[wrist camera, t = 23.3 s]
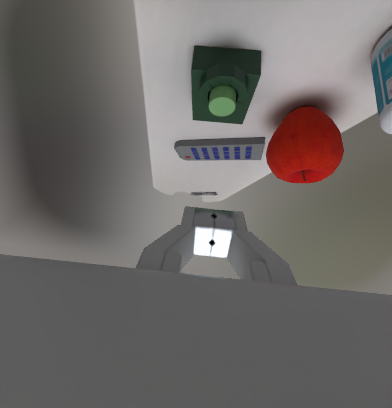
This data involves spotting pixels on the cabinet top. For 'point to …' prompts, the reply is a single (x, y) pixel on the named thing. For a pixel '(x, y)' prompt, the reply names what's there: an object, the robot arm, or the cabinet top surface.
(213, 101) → the light green button cap
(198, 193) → the pen
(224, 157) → the remote control
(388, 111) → the pill bottle
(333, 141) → the apple
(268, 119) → the cabinet top surface
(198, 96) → the button base
